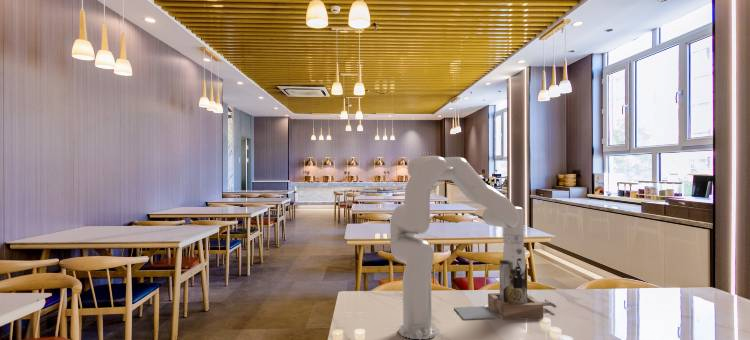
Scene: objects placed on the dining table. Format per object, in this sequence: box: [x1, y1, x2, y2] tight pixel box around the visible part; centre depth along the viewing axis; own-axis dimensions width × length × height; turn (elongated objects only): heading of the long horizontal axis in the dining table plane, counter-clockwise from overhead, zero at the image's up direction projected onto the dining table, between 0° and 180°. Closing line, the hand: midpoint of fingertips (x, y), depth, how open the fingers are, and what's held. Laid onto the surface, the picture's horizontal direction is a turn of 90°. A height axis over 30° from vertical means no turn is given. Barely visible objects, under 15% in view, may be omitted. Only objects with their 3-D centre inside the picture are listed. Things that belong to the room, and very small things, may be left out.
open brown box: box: [487, 292, 557, 320], centre depth 153 cm, size 15×23×5 cm, turn 96°
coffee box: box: [499, 259, 528, 304], centre depth 152 cm, size 9×6×16 cm
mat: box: [453, 305, 497, 321], centre depth 151 cm, size 12×12×1 cm
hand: (513, 284), depth 152 cm, fingers closed on coffee box, 7 cm apart
